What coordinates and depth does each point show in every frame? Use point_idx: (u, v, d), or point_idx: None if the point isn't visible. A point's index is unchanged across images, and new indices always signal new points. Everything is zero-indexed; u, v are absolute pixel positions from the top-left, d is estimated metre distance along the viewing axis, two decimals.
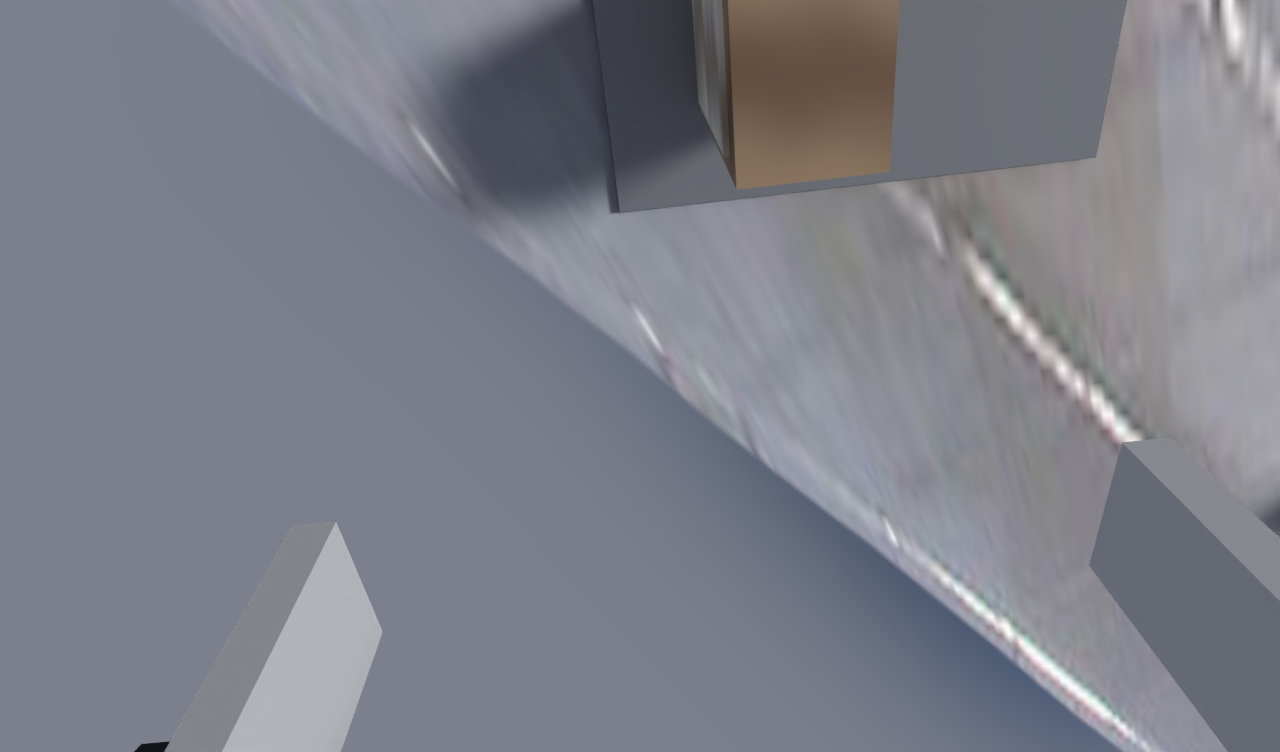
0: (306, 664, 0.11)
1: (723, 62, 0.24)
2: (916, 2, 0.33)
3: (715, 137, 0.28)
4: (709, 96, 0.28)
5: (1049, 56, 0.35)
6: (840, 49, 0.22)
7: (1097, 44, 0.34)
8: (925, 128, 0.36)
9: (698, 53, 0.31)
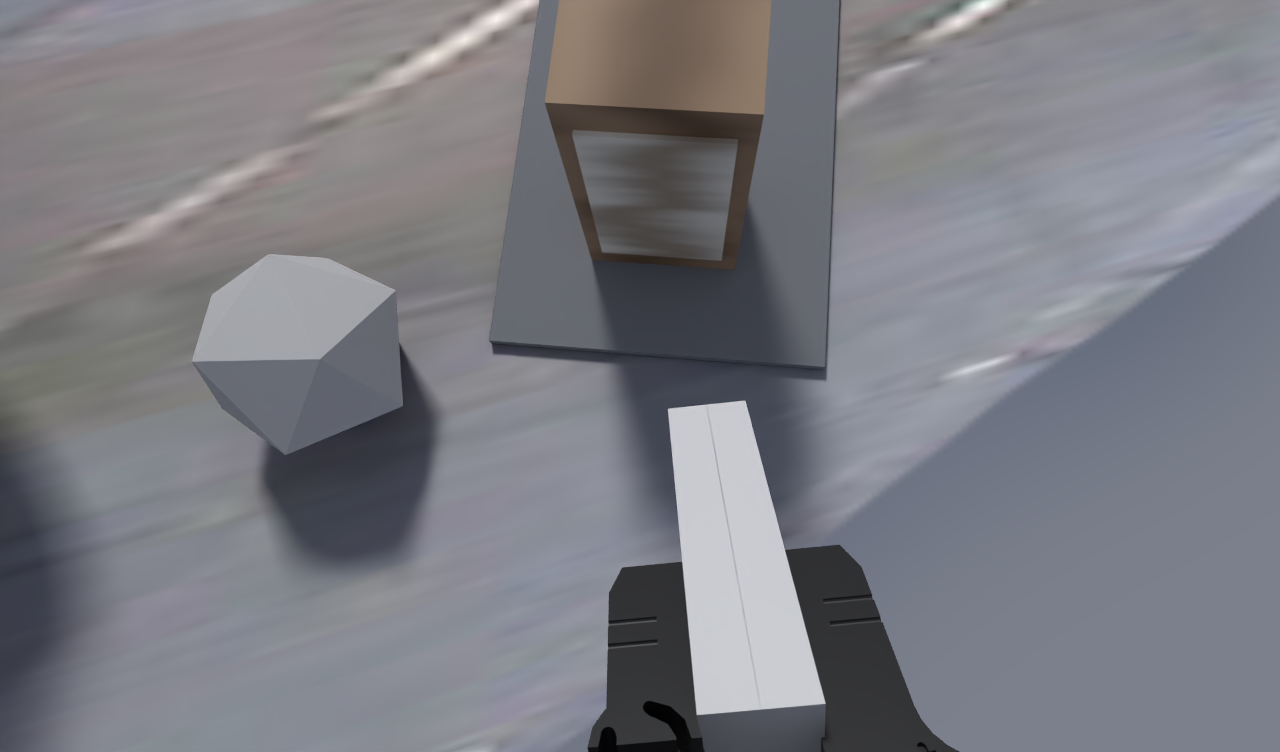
0: None
1: (648, 135, 0.25)
2: None
3: (730, 183, 0.27)
4: (697, 200, 0.29)
5: None
6: (650, 19, 0.24)
7: None
8: (788, 76, 0.38)
9: (671, 240, 0.33)
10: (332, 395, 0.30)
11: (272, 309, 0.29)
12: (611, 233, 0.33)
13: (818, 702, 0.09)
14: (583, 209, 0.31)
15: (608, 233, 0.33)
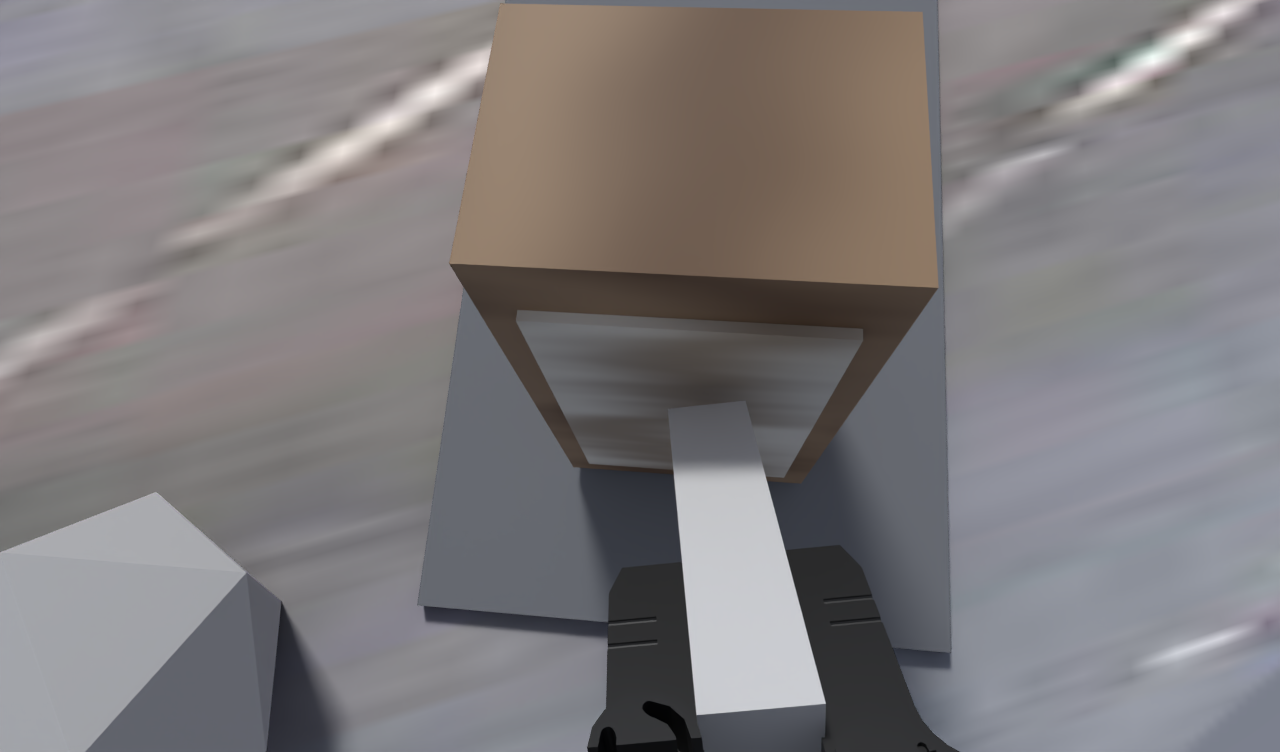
0: None
1: (673, 321, 0.12)
2: None
3: (827, 394, 0.14)
4: (757, 414, 0.16)
5: None
6: (675, 89, 0.12)
7: None
8: None
9: None
10: None
11: None
12: (603, 445, 0.19)
13: (819, 701, 0.09)
14: (553, 415, 0.18)
15: (598, 445, 0.19)
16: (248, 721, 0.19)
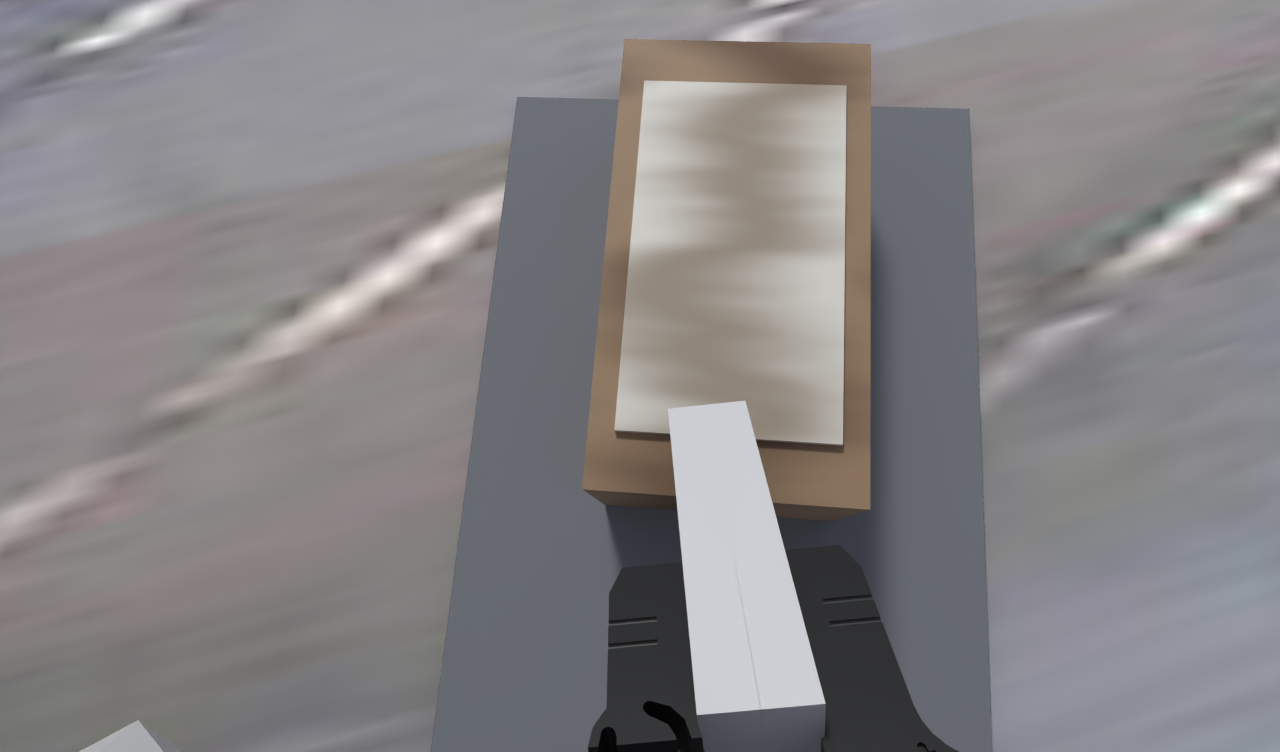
0: None
1: None
2: None
3: (843, 173, 0.20)
4: (796, 223, 0.20)
5: None
6: None
7: None
8: (899, 343, 0.24)
9: (749, 362, 0.19)
10: None
11: None
12: (646, 346, 0.19)
13: (819, 702, 0.09)
14: (612, 281, 0.20)
15: (641, 346, 0.19)
16: None
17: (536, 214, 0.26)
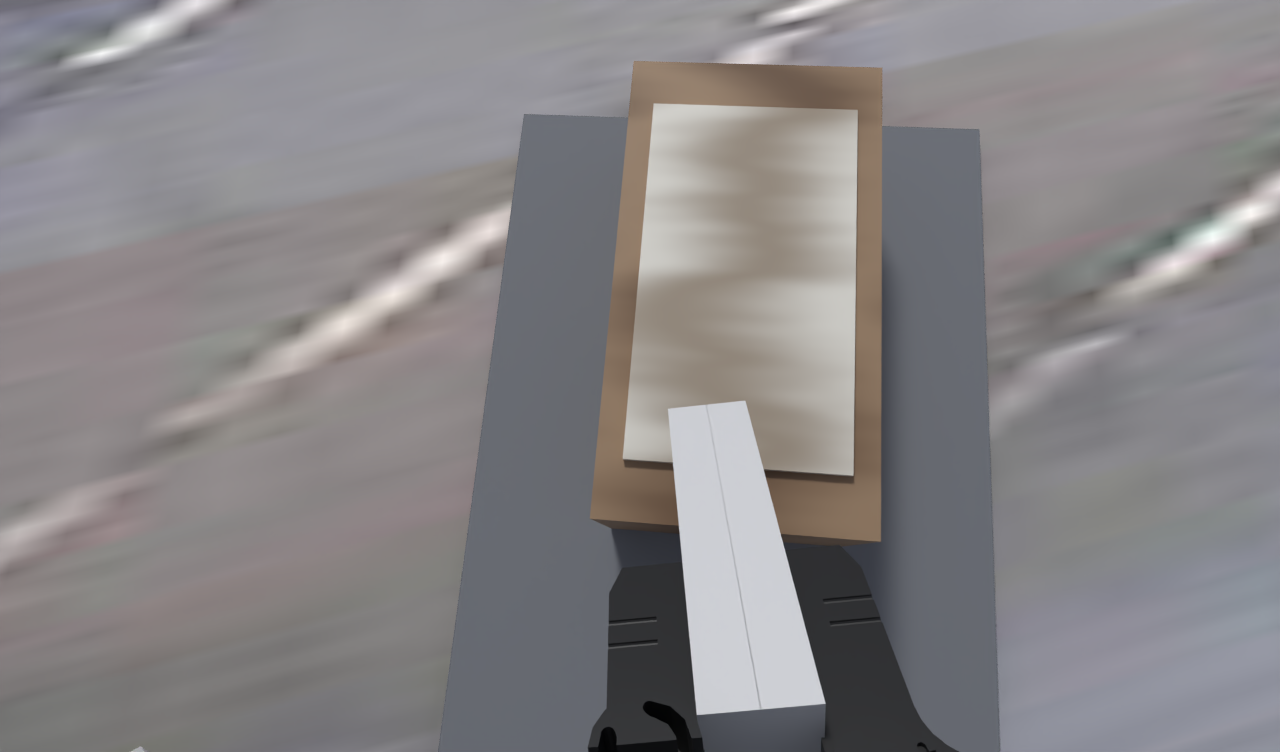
0: None
1: (746, 110, 0.21)
2: None
3: (854, 199, 0.20)
4: (806, 250, 0.19)
5: None
6: None
7: None
8: (908, 366, 0.24)
9: (759, 391, 0.18)
10: None
11: None
12: (655, 373, 0.19)
13: (819, 702, 0.09)
14: (621, 307, 0.19)
15: (649, 374, 0.19)
16: None
17: (543, 233, 0.26)
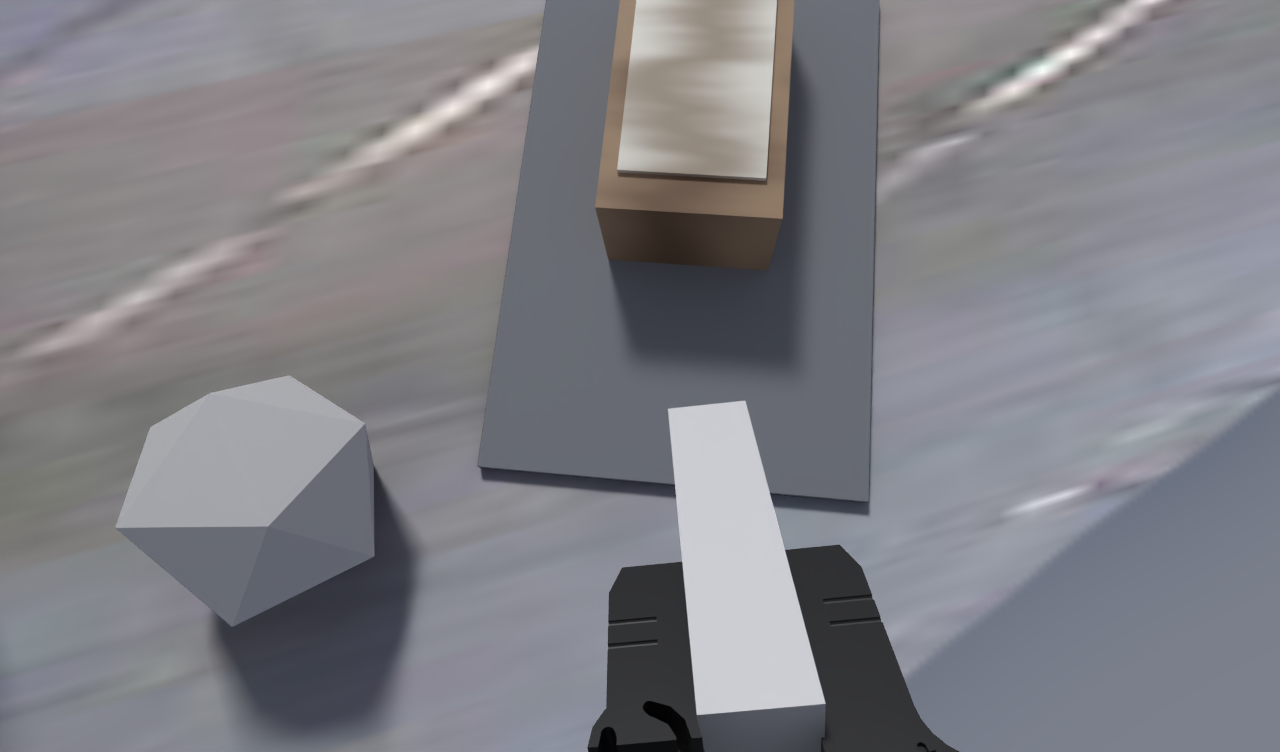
0: None
1: None
2: None
3: (774, 11, 0.29)
4: (741, 42, 0.29)
5: None
6: None
7: None
8: (821, 153, 0.33)
9: (707, 128, 0.28)
10: (286, 560, 0.25)
11: (212, 462, 0.24)
12: (639, 118, 0.28)
13: (819, 701, 0.09)
14: (617, 80, 0.29)
15: (636, 119, 0.28)
16: (364, 529, 0.27)
17: (562, 64, 0.35)
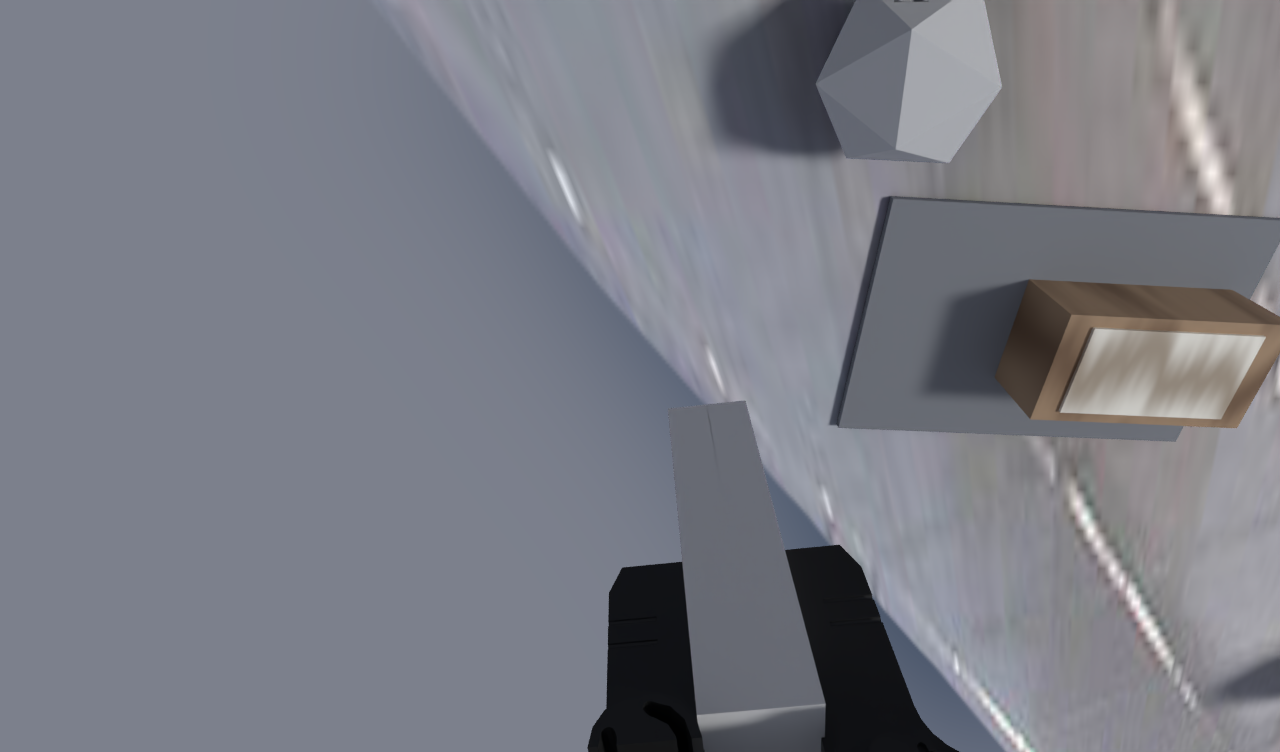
0: None
1: (1242, 375, 0.43)
2: None
3: (1178, 416, 0.45)
4: (1162, 398, 0.44)
5: None
6: None
7: None
8: None
9: (1106, 380, 0.43)
10: (862, 135, 0.36)
11: (948, 99, 0.33)
12: (1128, 340, 0.42)
13: (817, 701, 0.09)
14: (1164, 324, 0.42)
15: (1129, 338, 0.42)
16: (868, 158, 0.38)
17: (1206, 236, 0.44)
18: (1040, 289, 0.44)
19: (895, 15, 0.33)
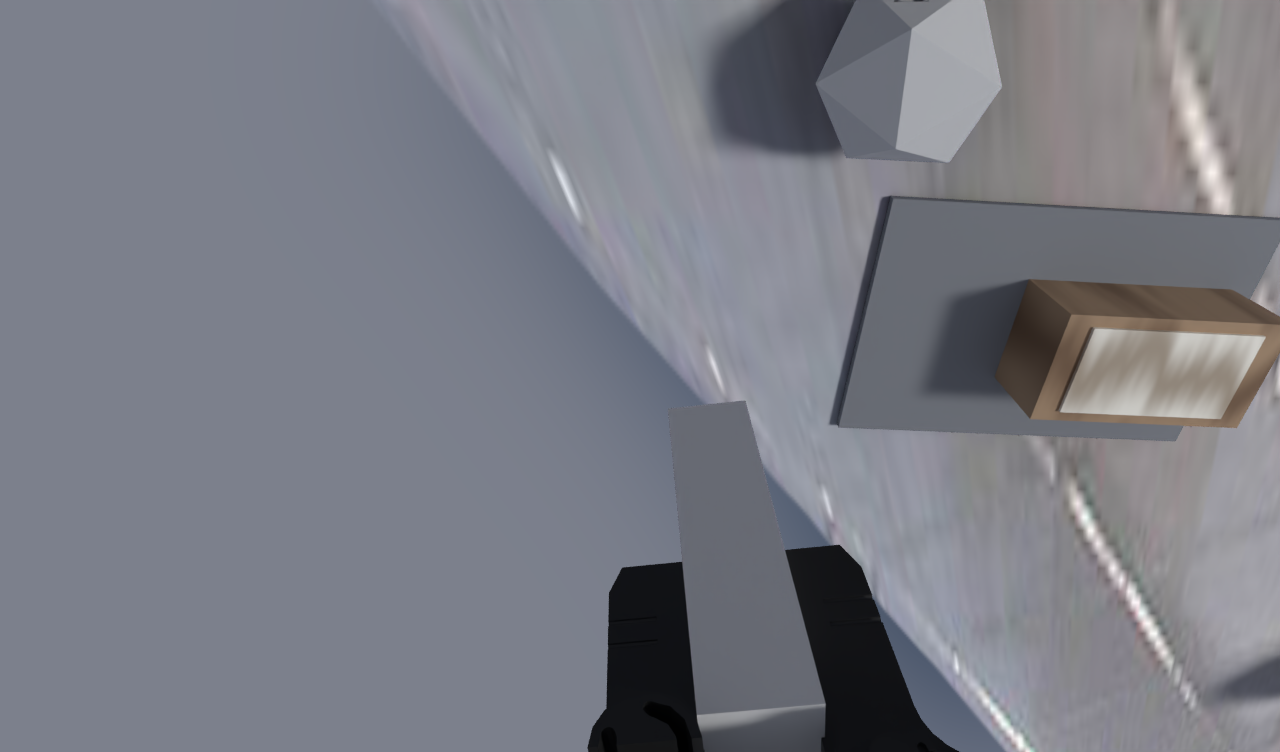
0: None
1: (1242, 374, 0.43)
2: None
3: (1178, 416, 0.45)
4: (1162, 398, 0.44)
5: None
6: None
7: None
8: None
9: (1106, 380, 0.43)
10: (863, 135, 0.36)
11: (948, 98, 0.33)
12: (1128, 340, 0.42)
13: (817, 701, 0.09)
14: (1164, 323, 0.42)
15: (1129, 338, 0.42)
16: (868, 158, 0.38)
17: (1206, 236, 0.44)
18: (1040, 289, 0.44)
19: (895, 15, 0.33)
